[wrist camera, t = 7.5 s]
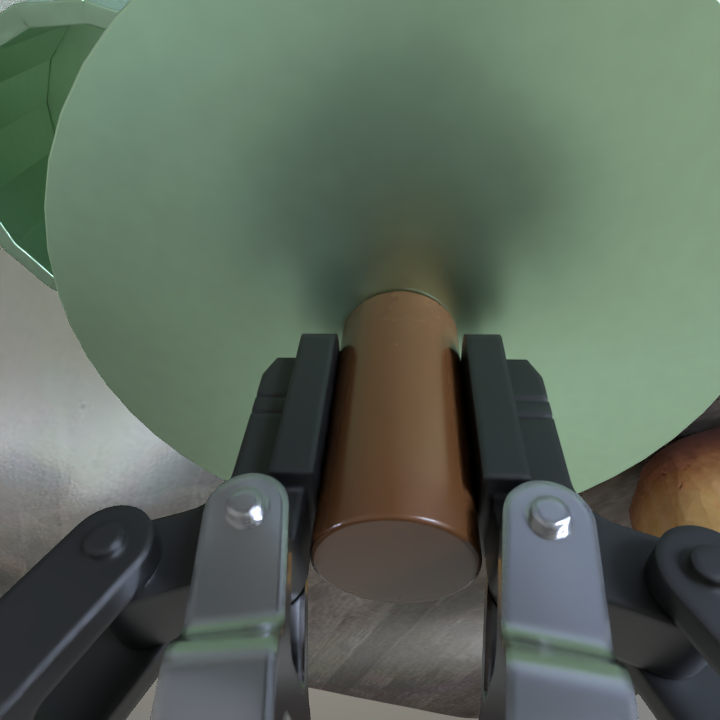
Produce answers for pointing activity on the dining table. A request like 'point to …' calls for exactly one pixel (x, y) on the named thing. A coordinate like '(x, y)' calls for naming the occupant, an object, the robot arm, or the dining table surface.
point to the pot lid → (397, 238)
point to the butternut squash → (680, 486)
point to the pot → (38, 109)
